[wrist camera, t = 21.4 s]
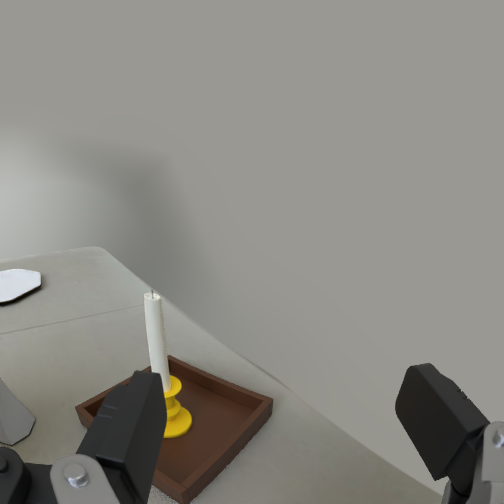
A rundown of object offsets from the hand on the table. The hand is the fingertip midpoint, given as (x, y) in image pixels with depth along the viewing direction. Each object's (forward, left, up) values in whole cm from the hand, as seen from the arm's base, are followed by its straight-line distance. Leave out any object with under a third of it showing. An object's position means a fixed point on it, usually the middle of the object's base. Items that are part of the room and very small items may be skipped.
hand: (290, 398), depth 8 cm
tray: (-9, -15, -19) cm, 26 cm away
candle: (-9, -16, -18) cm, 26 cm away
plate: (-5, -80, -19) cm, 83 cm away
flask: (+7, -29, -19) cm, 35 cm away
